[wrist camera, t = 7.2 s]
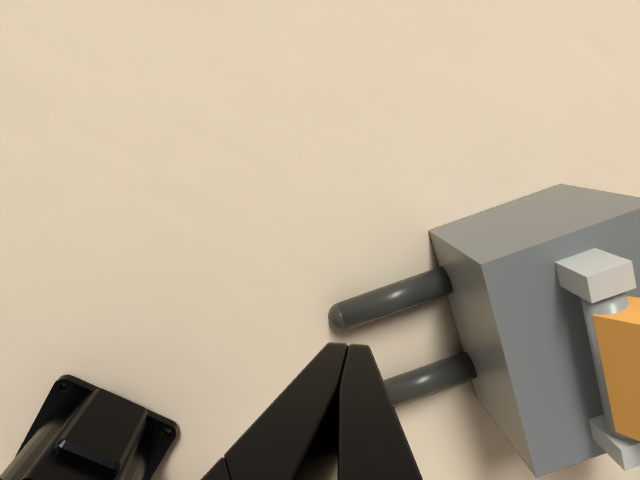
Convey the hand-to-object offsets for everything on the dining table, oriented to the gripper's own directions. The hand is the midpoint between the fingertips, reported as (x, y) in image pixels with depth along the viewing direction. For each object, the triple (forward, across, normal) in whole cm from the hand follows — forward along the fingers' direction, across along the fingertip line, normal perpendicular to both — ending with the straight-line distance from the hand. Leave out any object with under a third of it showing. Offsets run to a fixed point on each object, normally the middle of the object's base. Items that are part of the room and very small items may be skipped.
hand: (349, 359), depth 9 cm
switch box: (+13, -4, +8) cm, 16 cm away
